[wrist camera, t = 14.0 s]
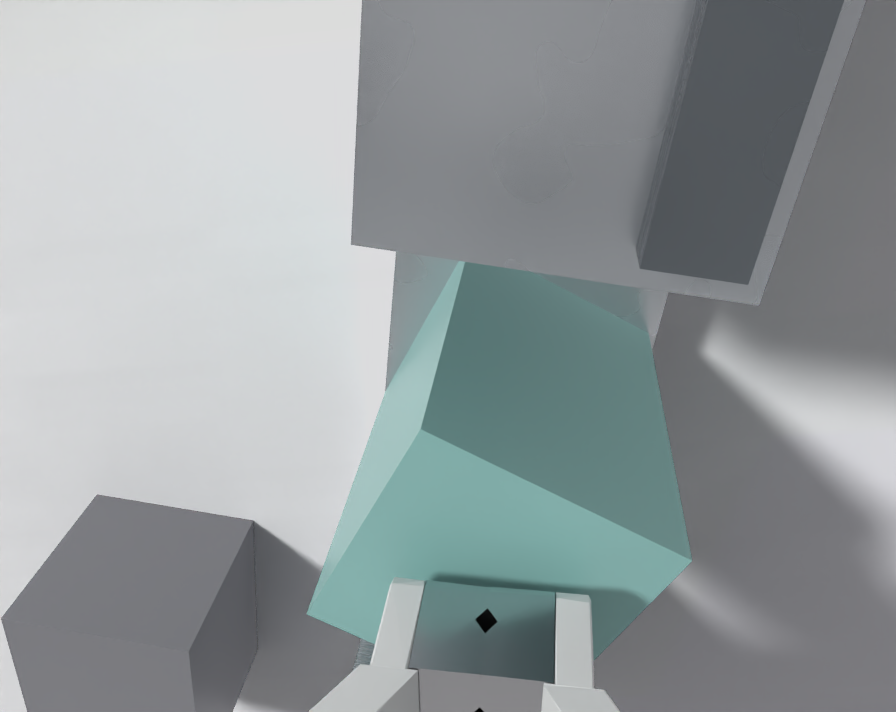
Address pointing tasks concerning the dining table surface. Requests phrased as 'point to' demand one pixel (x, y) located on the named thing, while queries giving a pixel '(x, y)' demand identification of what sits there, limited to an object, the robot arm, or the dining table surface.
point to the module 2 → (513, 461)
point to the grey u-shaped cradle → (588, 145)
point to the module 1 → (138, 613)
